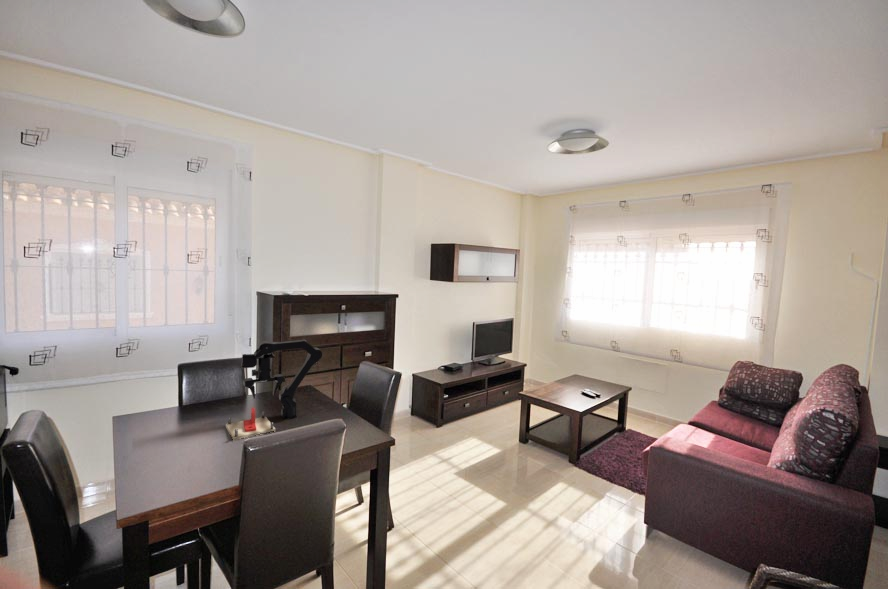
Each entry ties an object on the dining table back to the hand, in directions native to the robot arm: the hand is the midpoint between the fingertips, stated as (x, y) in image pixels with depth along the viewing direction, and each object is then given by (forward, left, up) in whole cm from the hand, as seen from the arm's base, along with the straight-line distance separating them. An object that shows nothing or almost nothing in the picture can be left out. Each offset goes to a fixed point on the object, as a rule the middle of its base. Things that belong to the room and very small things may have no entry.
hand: (263, 396), depth 199 cm
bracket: (+8, +8, -11) cm, 16 cm away
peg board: (+8, +8, -12) cm, 17 cm away
